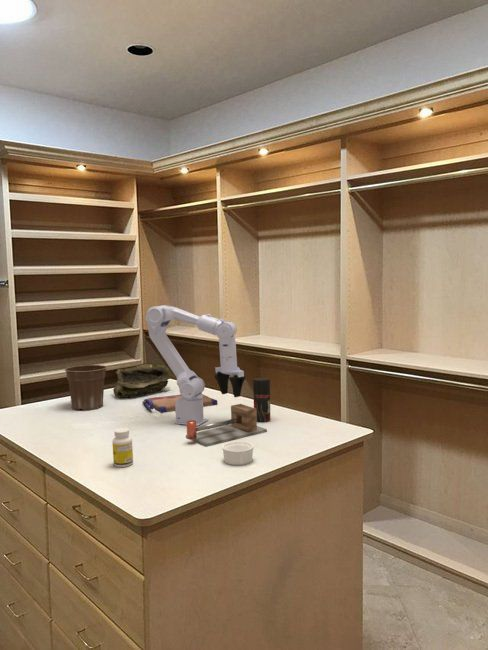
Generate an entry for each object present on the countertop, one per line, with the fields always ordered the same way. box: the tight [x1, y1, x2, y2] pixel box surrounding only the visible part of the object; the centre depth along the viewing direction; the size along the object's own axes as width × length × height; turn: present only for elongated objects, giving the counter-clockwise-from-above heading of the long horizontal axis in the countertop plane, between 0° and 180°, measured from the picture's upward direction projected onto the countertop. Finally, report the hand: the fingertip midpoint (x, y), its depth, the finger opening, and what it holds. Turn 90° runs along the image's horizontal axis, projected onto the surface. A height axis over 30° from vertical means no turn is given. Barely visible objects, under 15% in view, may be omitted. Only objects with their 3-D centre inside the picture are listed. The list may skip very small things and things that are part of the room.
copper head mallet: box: [186, 418, 236, 440], centre depth 173 cm, size 18×3×5 cm, turn 126°
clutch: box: [142, 393, 218, 414], centre depth 219 cm, size 28×5×20 cm
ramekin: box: [221, 440, 255, 466], centre depth 152 cm, size 9×9×4 cm
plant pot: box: [64, 364, 108, 411], centre depth 217 cm, size 16×16×16 cm
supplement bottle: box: [111, 427, 134, 468], centre depth 150 cm, size 5×5×10 cm
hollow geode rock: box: [112, 362, 172, 398], centre depth 242 cm, size 28×13×15 cm
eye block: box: [185, 403, 268, 447], centre depth 176 cm, size 24×12×8 cm, turn 126°
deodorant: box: [252, 377, 272, 423], centre depth 192 cm, size 6×6×15 cm
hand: (230, 395), depth 187 cm, fingers open, 7 cm apart
